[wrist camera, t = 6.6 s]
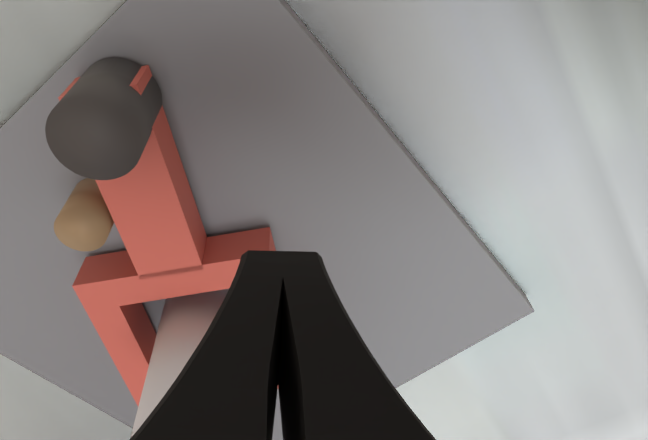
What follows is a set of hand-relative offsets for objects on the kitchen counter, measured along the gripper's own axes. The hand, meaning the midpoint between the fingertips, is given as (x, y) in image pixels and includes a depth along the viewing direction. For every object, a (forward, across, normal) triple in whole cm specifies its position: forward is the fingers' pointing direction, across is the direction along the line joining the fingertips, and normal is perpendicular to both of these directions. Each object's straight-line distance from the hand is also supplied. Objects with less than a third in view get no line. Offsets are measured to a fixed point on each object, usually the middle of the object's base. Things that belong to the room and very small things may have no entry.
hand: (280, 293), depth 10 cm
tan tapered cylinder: (+10, +6, +4) cm, 12 cm away
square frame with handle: (+9, +4, +5) cm, 11 cm away
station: (+10, +3, +9) cm, 13 cm away
